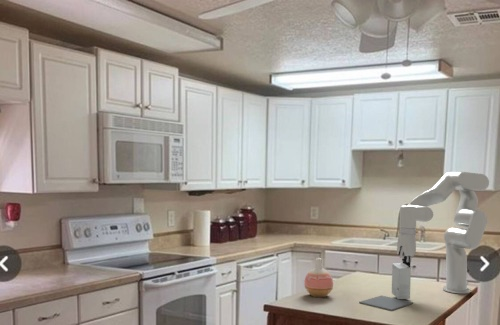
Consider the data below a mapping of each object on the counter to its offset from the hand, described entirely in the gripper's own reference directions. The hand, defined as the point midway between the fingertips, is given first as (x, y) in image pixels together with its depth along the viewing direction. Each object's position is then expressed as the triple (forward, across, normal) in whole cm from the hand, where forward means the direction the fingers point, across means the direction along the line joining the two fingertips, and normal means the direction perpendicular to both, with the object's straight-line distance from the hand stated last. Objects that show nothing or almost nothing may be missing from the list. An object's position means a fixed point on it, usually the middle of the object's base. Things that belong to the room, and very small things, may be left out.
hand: (406, 270), depth 223 cm
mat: (+13, +18, +1) cm, 22 cm away
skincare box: (+12, +5, +1) cm, 13 cm away
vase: (+14, +31, -27) cm, 44 cm away
